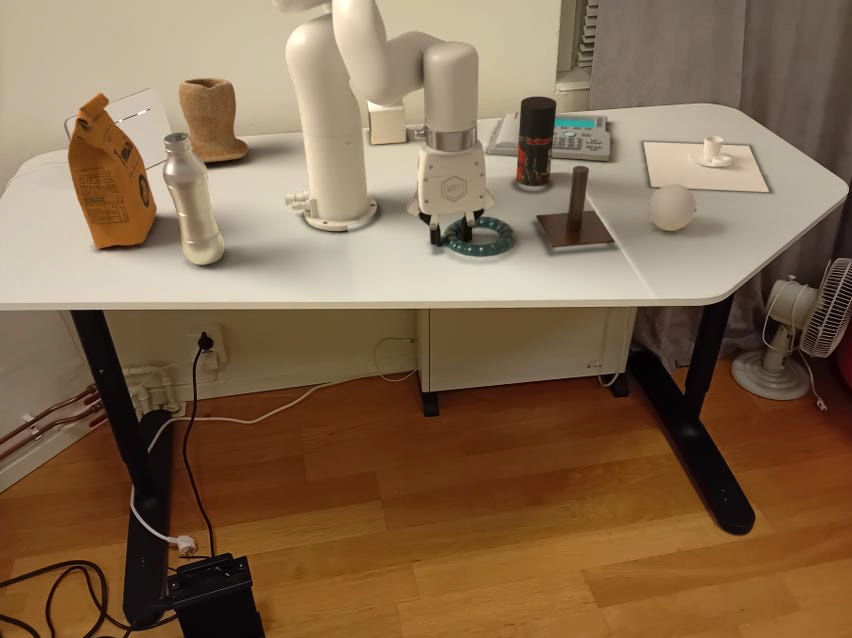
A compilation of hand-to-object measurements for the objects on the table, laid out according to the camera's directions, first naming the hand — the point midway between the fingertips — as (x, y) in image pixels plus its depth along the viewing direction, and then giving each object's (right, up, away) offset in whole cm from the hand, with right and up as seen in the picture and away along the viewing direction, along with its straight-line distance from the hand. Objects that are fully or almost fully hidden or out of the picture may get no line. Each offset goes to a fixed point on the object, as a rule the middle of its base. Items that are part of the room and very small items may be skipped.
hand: (451, 244), depth 117 cm
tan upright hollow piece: (-47, +22, +30) cm, 60 cm away
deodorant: (+16, +13, +16) cm, 26 cm away
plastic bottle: (-39, -2, 0) cm, 39 cm away
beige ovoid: (+36, +4, +4) cm, 36 cm away
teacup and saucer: (+48, +18, +20) cm, 55 cm away
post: (+20, +2, +2) cm, 20 cm away
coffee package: (-54, +3, +7) cm, 55 cm away
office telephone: (+22, +27, +32) cm, 47 cm away
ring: (+5, +1, 0) cm, 5 cm away
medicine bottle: (-11, +28, +35) cm, 46 cm away
